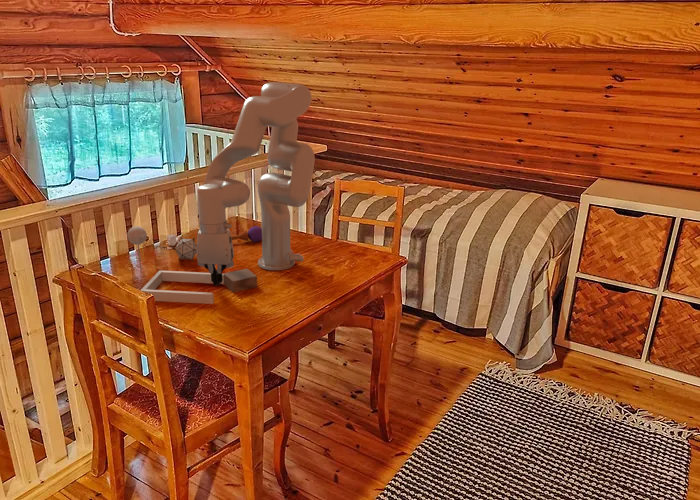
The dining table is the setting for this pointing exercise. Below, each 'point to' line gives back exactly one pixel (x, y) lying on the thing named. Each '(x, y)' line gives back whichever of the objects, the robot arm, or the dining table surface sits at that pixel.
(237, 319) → the dining table surface
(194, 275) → the u-shaped grey frame
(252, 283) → the walnut block
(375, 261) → the dining table surface
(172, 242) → the teacup and saucer
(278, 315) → the dining table surface
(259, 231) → the kendama
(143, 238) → the lollipop
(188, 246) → the game die
